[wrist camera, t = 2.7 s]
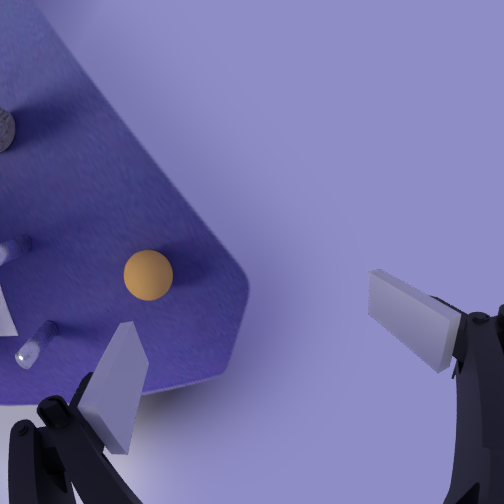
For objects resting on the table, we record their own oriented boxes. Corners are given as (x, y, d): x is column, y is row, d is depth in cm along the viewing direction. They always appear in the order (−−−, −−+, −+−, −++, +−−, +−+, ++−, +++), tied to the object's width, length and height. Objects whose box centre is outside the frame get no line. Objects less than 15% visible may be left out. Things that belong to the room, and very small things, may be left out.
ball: (136, 292, 32) (125, 311, 27) (126, 249, 31) (112, 261, 25) (179, 286, 33) (175, 304, 27) (170, 241, 31) (163, 252, 26)
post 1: (21, 253, 28) (-18, 272, 19) (17, 236, 27) (-23, 251, 19) (33, 250, 28) (-6, 269, 20) (29, 233, 28) (-12, 248, 19)
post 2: (48, 335, 31) (20, 368, 22) (42, 321, 30) (12, 352, 22) (60, 335, 31) (33, 369, 23) (54, 320, 31) (24, 352, 22)
